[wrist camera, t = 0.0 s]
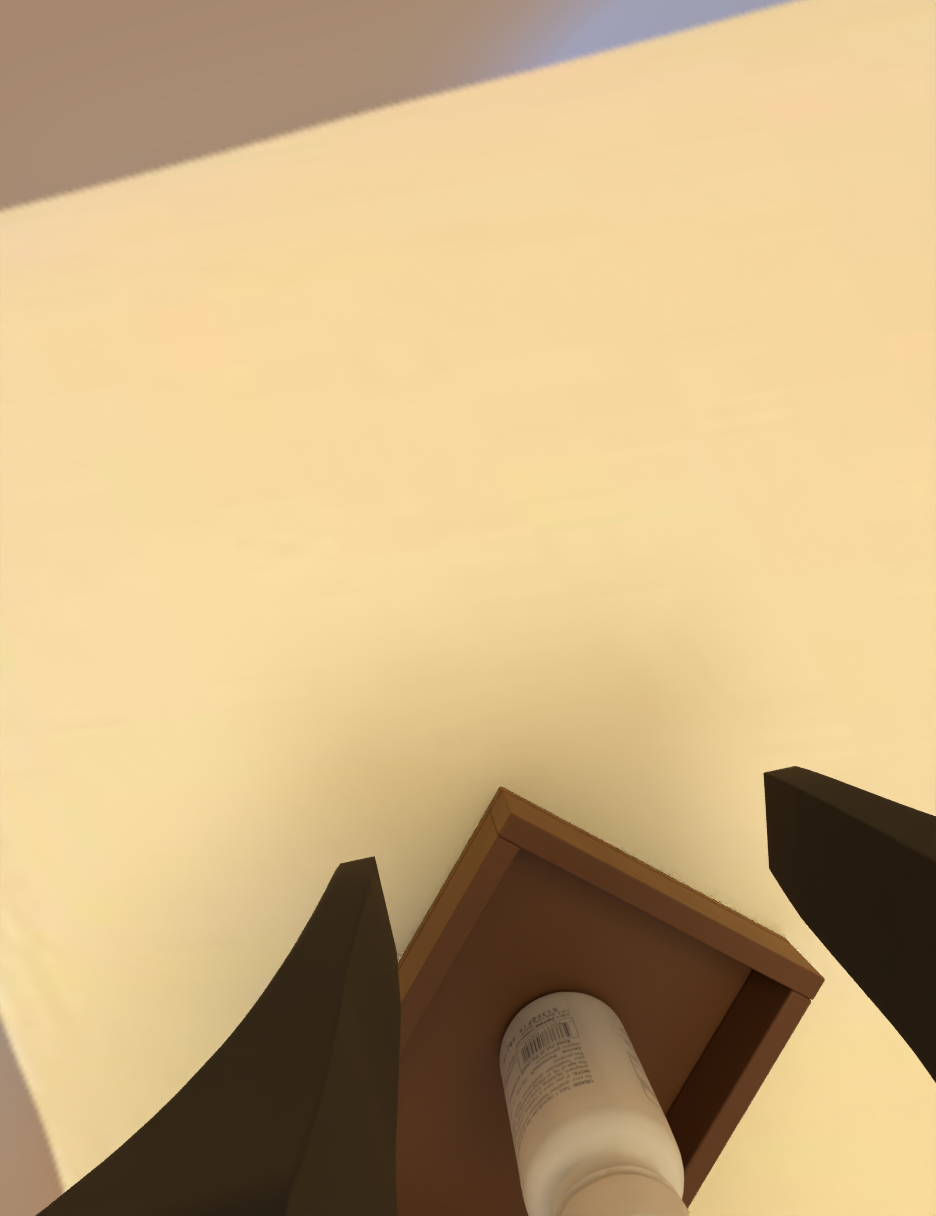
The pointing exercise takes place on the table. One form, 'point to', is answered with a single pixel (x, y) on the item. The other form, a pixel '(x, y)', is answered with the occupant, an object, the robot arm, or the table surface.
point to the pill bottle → (586, 1115)
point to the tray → (585, 963)
